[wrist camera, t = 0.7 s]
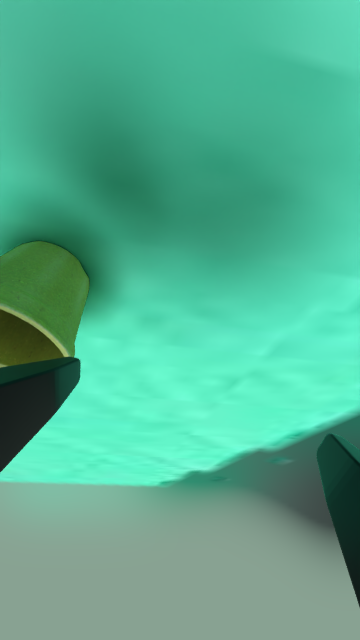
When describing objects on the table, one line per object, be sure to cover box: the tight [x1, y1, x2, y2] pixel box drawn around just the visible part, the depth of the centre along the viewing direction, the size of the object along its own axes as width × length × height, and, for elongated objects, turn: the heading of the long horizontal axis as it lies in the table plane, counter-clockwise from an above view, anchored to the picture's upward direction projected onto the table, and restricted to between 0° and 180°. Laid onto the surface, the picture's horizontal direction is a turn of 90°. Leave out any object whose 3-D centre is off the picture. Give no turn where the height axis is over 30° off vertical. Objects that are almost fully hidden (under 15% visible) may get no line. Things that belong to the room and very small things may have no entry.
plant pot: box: [0, 241, 89, 367], centre depth 18 cm, size 9×9×9 cm
